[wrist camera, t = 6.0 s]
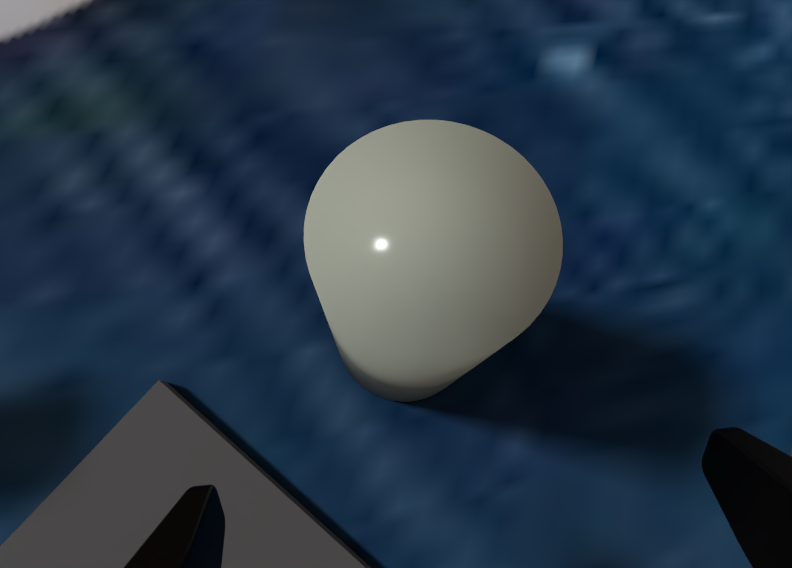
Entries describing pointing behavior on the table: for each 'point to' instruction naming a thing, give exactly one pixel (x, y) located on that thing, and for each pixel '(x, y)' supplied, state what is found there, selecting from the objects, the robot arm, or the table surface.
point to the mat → (169, 499)
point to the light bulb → (429, 253)
